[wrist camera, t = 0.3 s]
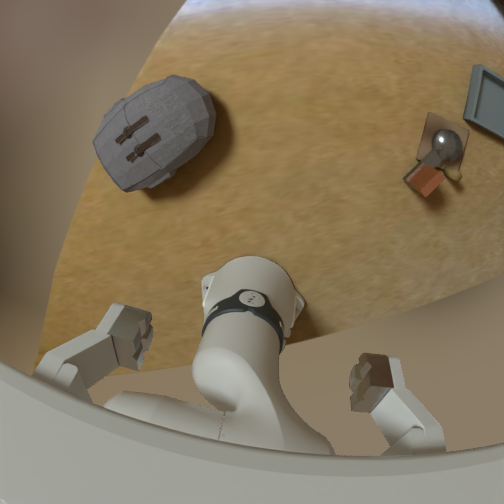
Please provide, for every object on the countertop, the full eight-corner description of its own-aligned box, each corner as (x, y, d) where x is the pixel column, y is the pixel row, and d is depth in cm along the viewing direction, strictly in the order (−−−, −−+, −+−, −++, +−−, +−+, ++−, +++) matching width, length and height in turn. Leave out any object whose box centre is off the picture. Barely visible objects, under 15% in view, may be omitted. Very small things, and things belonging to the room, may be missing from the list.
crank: (445, 122, 40) (466, 126, 34) (462, 146, 41) (484, 153, 35) (396, 171, 45) (411, 181, 39) (415, 194, 46) (431, 207, 40)
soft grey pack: (142, 197, 53) (240, 134, 47) (120, 213, 46) (229, 139, 39) (99, 128, 49) (190, 57, 42) (71, 133, 41) (171, 48, 35)
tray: (504, 141, 40) (512, 143, 37) (462, 118, 40) (470, 119, 38) (514, 90, 35) (522, 91, 33) (473, 65, 36) (480, 64, 33)
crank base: (453, 178, 45) (466, 185, 40) (414, 163, 45) (424, 168, 41) (467, 130, 41) (481, 132, 37) (428, 111, 41) (439, 112, 37)
